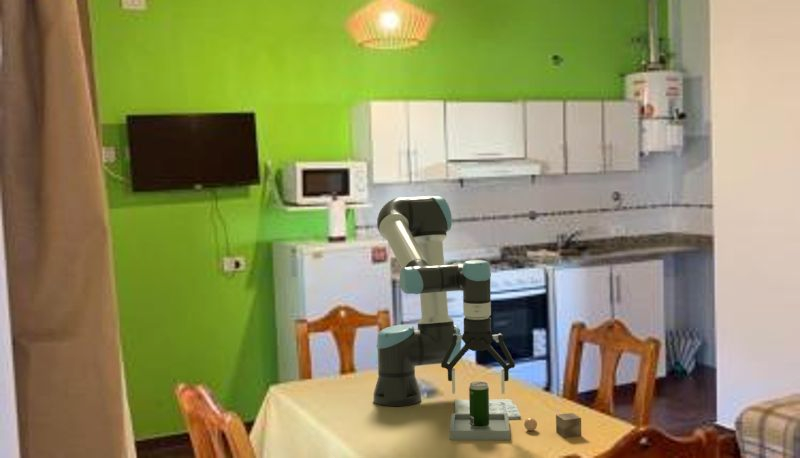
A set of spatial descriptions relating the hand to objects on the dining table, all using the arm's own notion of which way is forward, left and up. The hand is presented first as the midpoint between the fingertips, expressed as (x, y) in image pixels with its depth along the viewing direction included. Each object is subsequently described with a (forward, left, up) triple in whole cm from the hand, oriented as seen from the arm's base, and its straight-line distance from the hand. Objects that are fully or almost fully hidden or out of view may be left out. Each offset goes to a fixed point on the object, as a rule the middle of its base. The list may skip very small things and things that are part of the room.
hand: (478, 392), depth 228 cm
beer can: (0, 0, -10) cm, 10 cm away
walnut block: (+24, -3, -11) cm, 27 cm away
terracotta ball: (+14, 0, -9) cm, 17 cm away
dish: (0, 0, -11) cm, 11 cm away
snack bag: (+2, +20, -11) cm, 23 cm away
